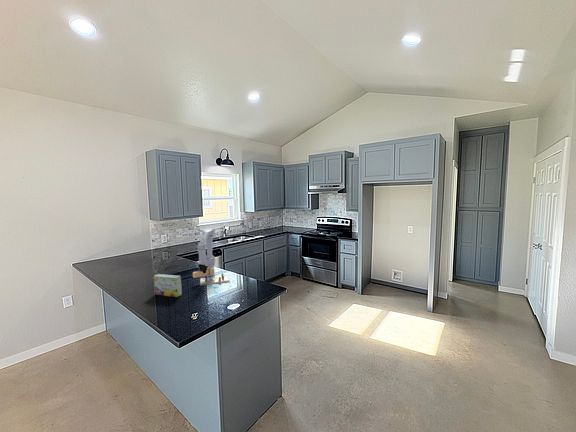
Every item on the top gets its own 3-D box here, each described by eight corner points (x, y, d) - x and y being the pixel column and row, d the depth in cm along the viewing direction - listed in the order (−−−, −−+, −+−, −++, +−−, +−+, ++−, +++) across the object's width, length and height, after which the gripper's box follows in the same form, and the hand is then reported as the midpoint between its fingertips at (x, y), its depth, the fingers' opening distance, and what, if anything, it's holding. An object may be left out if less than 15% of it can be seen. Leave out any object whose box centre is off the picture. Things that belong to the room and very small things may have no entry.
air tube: (212, 272, 234) (212, 267, 234) (214, 273, 231) (214, 268, 231) (192, 276, 222) (192, 272, 222) (195, 277, 219) (194, 273, 219)
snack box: (154, 295, 200) (153, 275, 199) (160, 292, 206) (158, 273, 204) (177, 297, 194) (176, 277, 193) (182, 294, 199) (181, 275, 198)
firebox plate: (200, 279, 233) (200, 274, 233) (227, 276, 241) (227, 271, 241) (200, 285, 218) (199, 280, 218) (229, 281, 226) (229, 276, 225)
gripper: (194, 257, 228) (195, 272, 229) (202, 259, 217) (203, 275, 218) (201, 255, 232) (202, 270, 234) (209, 257, 222) (210, 273, 223)
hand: (203, 272), depth 226 cm, fingers closed on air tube, 4 cm apart
